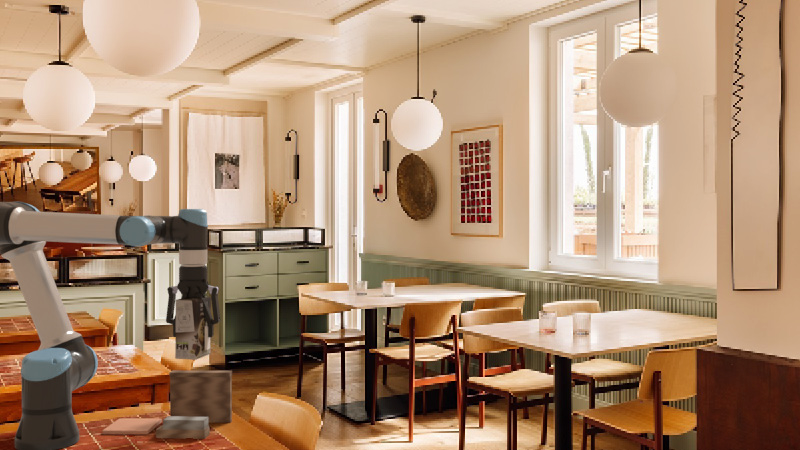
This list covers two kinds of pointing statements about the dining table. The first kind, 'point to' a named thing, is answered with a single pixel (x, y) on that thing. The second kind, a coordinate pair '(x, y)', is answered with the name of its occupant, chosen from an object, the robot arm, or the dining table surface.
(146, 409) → the dining table surface
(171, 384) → the brown rectangular wooden panel
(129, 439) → the dining table surface
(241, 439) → the dining table surface
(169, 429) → the offcut stack
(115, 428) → the terracotta tile
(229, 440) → the dining table surface
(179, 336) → the coffee box
